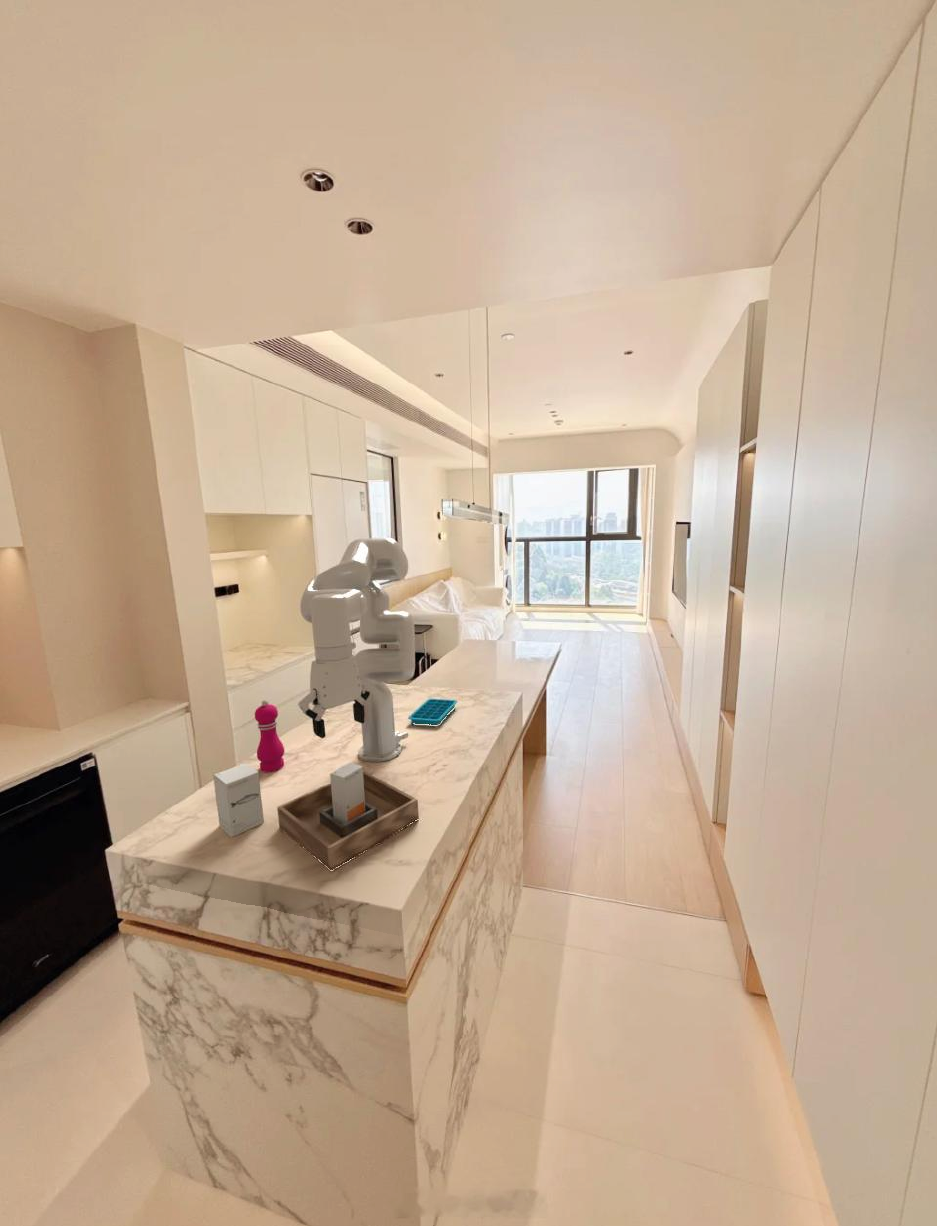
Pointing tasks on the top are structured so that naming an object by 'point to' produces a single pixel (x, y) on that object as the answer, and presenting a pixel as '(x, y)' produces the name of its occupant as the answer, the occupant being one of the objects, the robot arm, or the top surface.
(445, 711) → the ice cube tray
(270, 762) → the pepper mill
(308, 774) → the top surface
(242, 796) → the supplement box
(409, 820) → the walled box
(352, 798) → the skincare box
